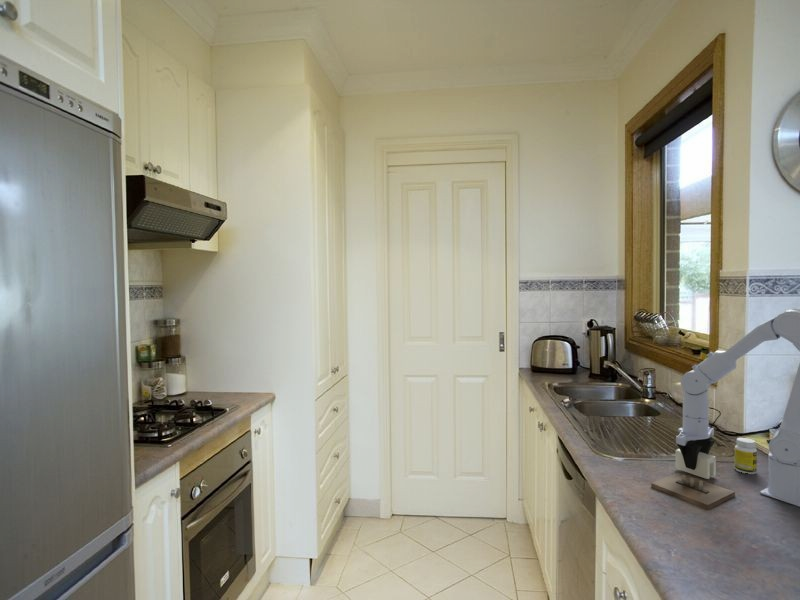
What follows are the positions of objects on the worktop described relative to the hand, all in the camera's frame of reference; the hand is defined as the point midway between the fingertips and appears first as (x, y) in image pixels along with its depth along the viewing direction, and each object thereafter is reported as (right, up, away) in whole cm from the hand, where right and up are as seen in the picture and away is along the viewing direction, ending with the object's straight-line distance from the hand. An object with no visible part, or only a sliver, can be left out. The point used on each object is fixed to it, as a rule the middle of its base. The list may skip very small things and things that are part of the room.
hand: (695, 466), depth 119 cm
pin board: (-7, -3, -10) cm, 12 cm away
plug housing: (0, -1, 0) cm, 1 cm away
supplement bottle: (+14, -2, +1) cm, 14 cm away
